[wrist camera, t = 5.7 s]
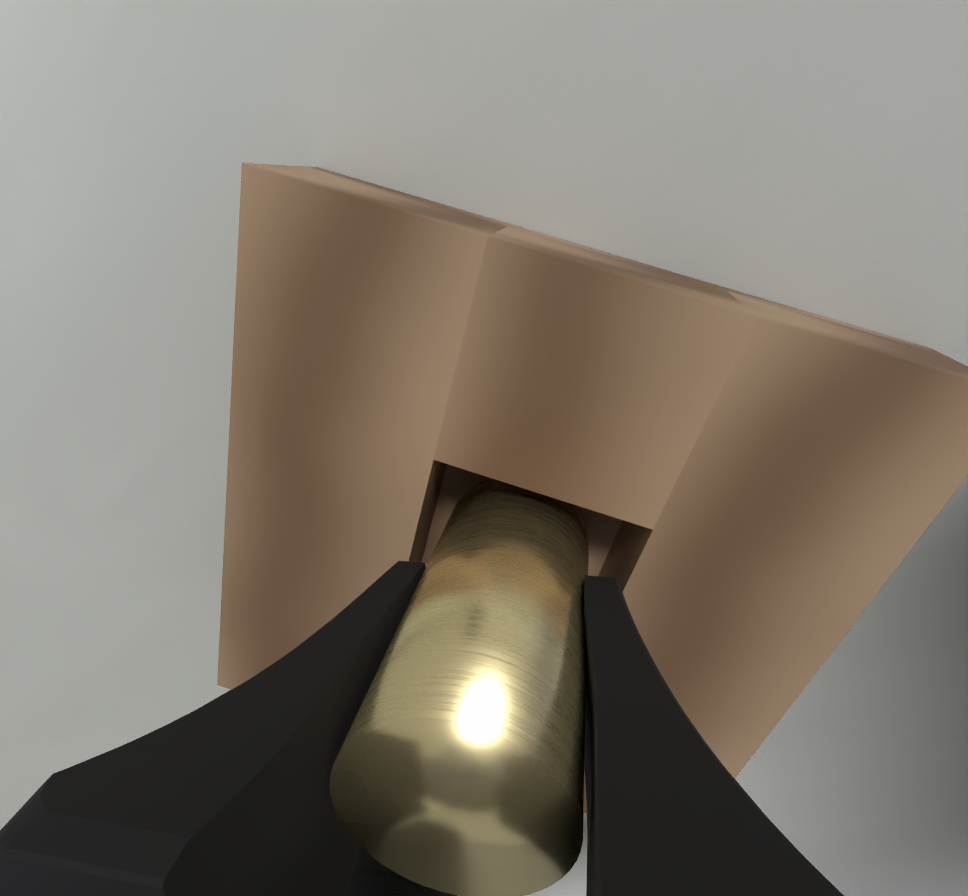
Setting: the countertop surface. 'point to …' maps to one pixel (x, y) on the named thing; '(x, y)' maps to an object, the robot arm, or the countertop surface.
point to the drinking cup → (384, 881)
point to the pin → (479, 707)
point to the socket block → (566, 436)
